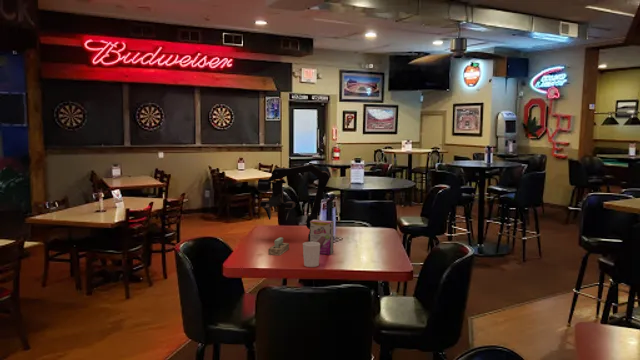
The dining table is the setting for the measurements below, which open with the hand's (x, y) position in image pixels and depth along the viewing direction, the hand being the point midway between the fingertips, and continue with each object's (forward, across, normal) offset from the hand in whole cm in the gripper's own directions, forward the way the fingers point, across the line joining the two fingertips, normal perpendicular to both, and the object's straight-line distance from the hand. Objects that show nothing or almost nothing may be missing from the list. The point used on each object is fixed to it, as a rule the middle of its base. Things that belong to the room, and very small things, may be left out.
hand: (277, 219), depth 263 cm
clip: (+12, +8, -19) cm, 24 cm away
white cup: (+13, +30, -38) cm, 50 cm away
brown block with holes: (+12, +8, -19) cm, 24 cm away
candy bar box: (+13, +29, -16) cm, 35 cm away
